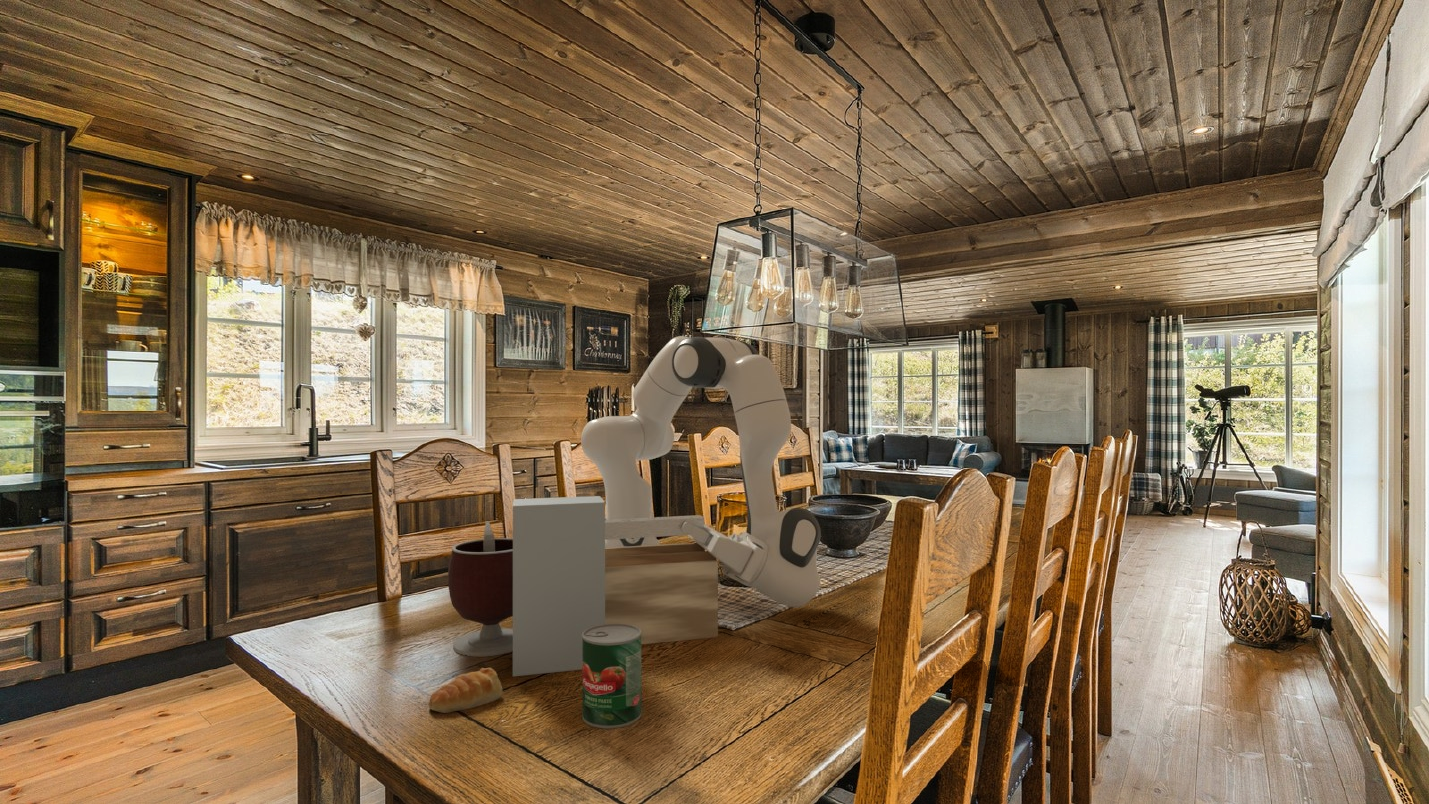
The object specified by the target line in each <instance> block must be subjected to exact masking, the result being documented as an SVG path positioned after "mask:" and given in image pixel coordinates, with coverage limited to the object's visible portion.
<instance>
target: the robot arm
mask: <svg viewBox="0 0 1429 804" xmlns="http://www.w3.org/2000/svg"><path fill="white" fill-rule="evenodd" d="M635 385H636V386H635V387H634V388H633V392H632V398H633V403H634V405H635V407H636V409H635V410H634V412H633V413H632V414H630V415H620V416H619V415H609V416H607V415H606V416H602V417H599V418H596V419H592V420H590V421H588V422H587V423H586V424H585V425H584V427H583V429H582V432H581V435H580V436H581V437H580V446H581V449H582V451H583V453H584V455H585V457H587V458H588V459H589V460H591V462H592V463H593V464H594V465H595V467H596V468H597V469H598V471H599V474H600V476H601V478H602V481H603V485H604V493H605V520H612V519H632V518H652V517H653V488H652V485H651V484H650V482H648V481H647V480H646V479H644V478H643V477H642V475H640V472H639V470H638V467H637V461H638V462H639V461H647V460H648V461H650V460H653V459H654V460H655V459H656V458H660V457H662V456H664V455H667V454H668V453H669V452H670V451H671V449H673V446H674V441H675V435H674V434H675V433H674V429H673V426H672V425H671V424H672V420H673V418H674V416H675V415H676V413H677V411H678V410H679V408H680V407H681V405H682V404H683V402H684V400H685V399H686V398H687V396H688V395H689V394H690V392H691V390H692V389H693V388H696V389H708V390H709V389H710V390H711V389H712V390H720V389H723V390H725V391H726V392H727V393H728V395H729V397H730V400H731V404H732V407H733V409H732V410H733V414H734V417H735V423H736V427H737V433H738V439H739V440H738V441H739V455H740V456H739V460H740V468H741V477H742V482H743V483H742V484H743V491H744V498H745V502H746V503H745V505H746V509H747V510H746V512H747V524H746V531H743V532H739V534H736V533H733V534H730V535H729V536H726V535H725V534H724V533H722V532H720V531H718V530H716V529H714V528H712V527H711V526H709V525H708V524H705V523H704V530H702V529H700V528H698V527H696V526H694V525H692V524H690V523H688V522H686V521H684V522H683V523H682V525H681V527H680V529H681V530H682V531H683V532H685V533H687V534H689V535H686V536H687V537H688V538H690V539H691V540H692V541H694V543H697V544H699V545H700V546H701V547H703V548H704V549H705V551H708V552H709V553H710V554H712V555H713V556H714V557H715V558H716V560H717V561H718V565H721V571H722V573H723V575H725V576H727V577H729V578H731V579H732V580H734V581H736V582H738V583H740V584H742V585H744V586H746V587H749V588H754V589H756V590H757V591H758V592H759V593H761V594H762V595H763V596H764V597H767V598H769V599H771V600H772V601H774V602H777V603H779V604H781V605H784V606H786V607H790V608H800V607H803V606H806V605H807V604H808V603H810V601H812V600H813V599H814V597H815V596H816V595H817V593H818V591H819V589H820V586H821V585H820V584H821V578H820V577H821V576H820V573H819V572H818V567H817V566H818V565H817V564H818V563H817V561H818V560H817V559H818V557H817V556H818V555H817V554H818V547H819V544H820V541H821V535H822V533H821V527H820V524H819V522H818V520H817V518H816V517H815V515H813V513H811V511H809V510H807V509H805V508H803V507H795V508H789V509H785V510H784V509H783V510H781V511H779V510H778V506H777V501H776V499H777V498H776V494H775V488H774V481H773V466H774V464H775V463H774V462H775V460H776V458H777V456H778V454H779V453H780V451H781V450H782V448H783V447H784V446H785V444H786V443H787V442H788V440H789V437H790V435H791V433H792V419H791V417H792V416H791V411H790V408H789V405H788V400H787V397H786V393H785V389H784V387H783V384H782V382H781V378H780V377H779V374H778V372H777V369H776V368H775V365H774V363H773V362H772V361H771V359H770V358H768V357H767V356H764V355H761V354H759V352H758V350H757V349H756V348H755V347H754V346H753V345H752V344H750V343H748V342H745V341H743V340H740V339H736V340H735V339H732V338H728V337H727V338H726V337H720V336H718V337H710V336H709V337H708V336H707V337H704V336H703V337H702V336H691V337H688V336H685V335H684V336H683V335H678V336H675V337H673V338H671V339H670V340H669V341H668V342H667V343H666V344H665V345H664V346H663V347H662V348H661V350H660V351H659V352H658V353H657V354H656V355H655V357H654V358H653V360H652V361H651V362H650V364H649V366H648V367H647V368H646V370H645V371H644V373H643V374H642V376H641V378H640V379H639V381H638V382H637V384H635ZM646 545H661V542H660V541H659V540H658V539H657V537H643V538H626V539H608V540H605V548H611V547H629V546H646Z"/></svg>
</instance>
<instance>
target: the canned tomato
mask: <svg viewBox="0 0 1429 804" xmlns="http://www.w3.org/2000/svg"><path fill="white" fill-rule="evenodd" d="M641 634H642V633H641V630H640V629H639V628H638V627H636V626H633V625H629V624H620V623H612V624H602V625H597V626H593V627H590V628H588V629H586V630H585V631H584V632H583V633H582V658H583V659H582V664H583V665H582V669H581V670H582V671H581V673H582V678H581V679H582V680H581V681H582V683H581V684H582V696H581V697H582V716H581V718H582V721H583V722H584V724H587V725H588V726H590V727H592V728H597V729H606V730H607V729H609V730H611V729H619V728H624V727H628V726H630V725H632V724H634V723H636V722H637V721H639V720H640V719H641V717H642V715H643V710H642V695H643V693H642V682H643V681H642V644H641Z"/></svg>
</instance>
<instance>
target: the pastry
mask: <svg viewBox="0 0 1429 804" xmlns="http://www.w3.org/2000/svg"><path fill="white" fill-rule="evenodd" d="M503 693H504V692H503V686H502V683H501V681H500V679H499V677H498V673H497V672H496V671H495V670H494V669H493V668H492V667H486V668H484V667H481V668H480V669H479V670H478V671H477V670H476V671H470V672H467V673H464V674H460V675H457V676H456V677H455V679H453V680H452V681H450V682H448V684H444V685H442V686H441V687H440V688H438V689H437V690H436V691H435V692H433V693H432V694H431V695H430V698H429V702H428V709H430V710H432V711H435V712H437V713H442V714H443V713H444V714H448V713H453V712H457V711H465V710H472V709H473V708H476V707H480V706H483V705H487V704H489V703H492V702H495V701H497V700H499V699H500V698H501V696H502V694H503Z"/></svg>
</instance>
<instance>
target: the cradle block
mask: <svg viewBox="0 0 1429 804" xmlns="http://www.w3.org/2000/svg"><path fill="white" fill-rule="evenodd" d="M612 623H620V624H629V625H633V626H636V627H638V628H639V629H640V630H641V633H642V634H641V645H650V644H659V643H661V644H663V643H671V642H672V643H673V642H679V641H682V642H683V641H690V640H701V639H702V640H703V639H711V638H719V562H718V559H717V558H715V557H714V556H713V555H712V554H710V553H709V552H708V551H707V550H705V549H704V548H703V547H701V546H700V545H699V544H697V543H696V542H686V543H684V542H683V543H669V544H667V543H666V544H660V545H646V546H629V547H611V548H605V624H612Z"/></svg>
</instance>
